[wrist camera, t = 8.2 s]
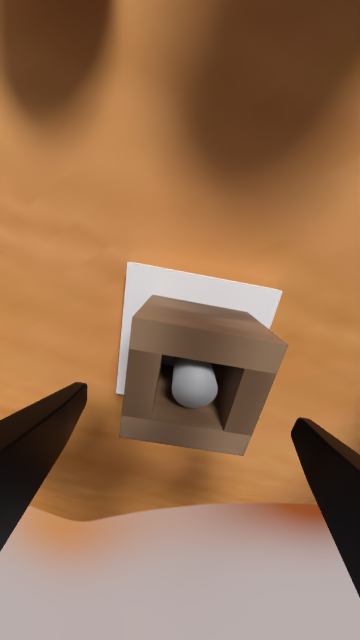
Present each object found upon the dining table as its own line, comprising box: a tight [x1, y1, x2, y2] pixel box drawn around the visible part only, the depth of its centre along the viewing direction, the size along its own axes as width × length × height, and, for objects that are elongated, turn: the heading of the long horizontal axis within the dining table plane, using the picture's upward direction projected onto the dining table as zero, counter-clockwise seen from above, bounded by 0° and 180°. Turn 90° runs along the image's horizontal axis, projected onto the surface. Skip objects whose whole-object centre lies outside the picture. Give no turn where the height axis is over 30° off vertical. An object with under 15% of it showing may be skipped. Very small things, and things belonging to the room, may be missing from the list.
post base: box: [116, 262, 283, 408], centre depth 12 cm, size 10×10×6 cm
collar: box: [119, 295, 288, 456], centre depth 11 cm, size 6×6×5 cm
